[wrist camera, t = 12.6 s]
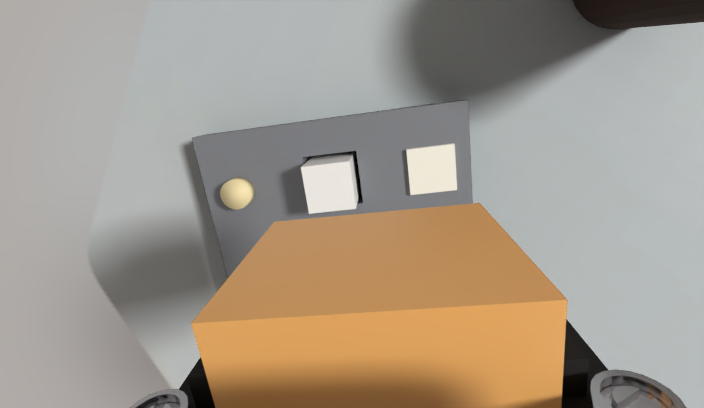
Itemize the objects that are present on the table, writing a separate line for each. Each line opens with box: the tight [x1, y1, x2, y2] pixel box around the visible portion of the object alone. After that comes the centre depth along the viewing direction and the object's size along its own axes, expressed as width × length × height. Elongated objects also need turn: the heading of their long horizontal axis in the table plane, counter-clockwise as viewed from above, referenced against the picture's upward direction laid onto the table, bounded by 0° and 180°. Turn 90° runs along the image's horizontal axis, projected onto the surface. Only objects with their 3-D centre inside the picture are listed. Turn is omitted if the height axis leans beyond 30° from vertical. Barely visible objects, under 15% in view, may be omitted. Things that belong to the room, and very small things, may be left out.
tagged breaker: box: [301, 151, 360, 214], centre depth 24 cm, size 3×3×4 cm
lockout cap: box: [191, 203, 567, 408], centre depth 9 cm, size 6×6×5 cm
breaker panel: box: [192, 100, 473, 278], centre depth 25 cm, size 18×22×6 cm
